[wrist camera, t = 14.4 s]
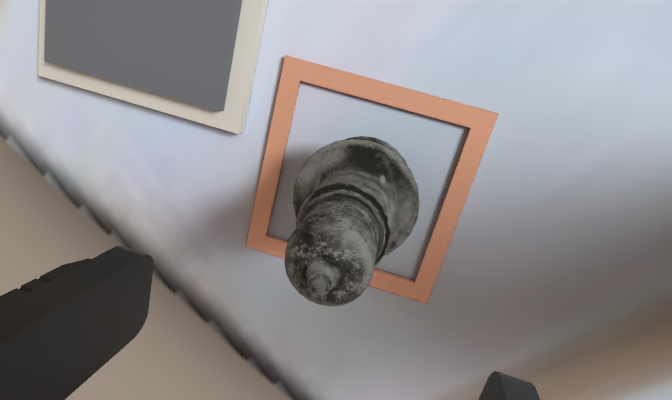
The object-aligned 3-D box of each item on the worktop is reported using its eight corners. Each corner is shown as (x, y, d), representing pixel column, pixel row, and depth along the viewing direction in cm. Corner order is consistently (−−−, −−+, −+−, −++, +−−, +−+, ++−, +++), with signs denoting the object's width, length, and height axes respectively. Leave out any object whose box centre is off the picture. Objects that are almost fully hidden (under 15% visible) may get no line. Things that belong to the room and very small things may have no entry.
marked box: (497, 113, 20) (498, 113, 20) (426, 301, 23) (426, 303, 23) (286, 55, 21) (285, 55, 21) (247, 244, 24) (246, 246, 24)
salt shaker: (328, 245, 23) (255, 398, 12) (295, 148, 22) (178, 215, 11) (429, 221, 22) (454, 367, 11) (400, 116, 21) (393, 153, 9)
